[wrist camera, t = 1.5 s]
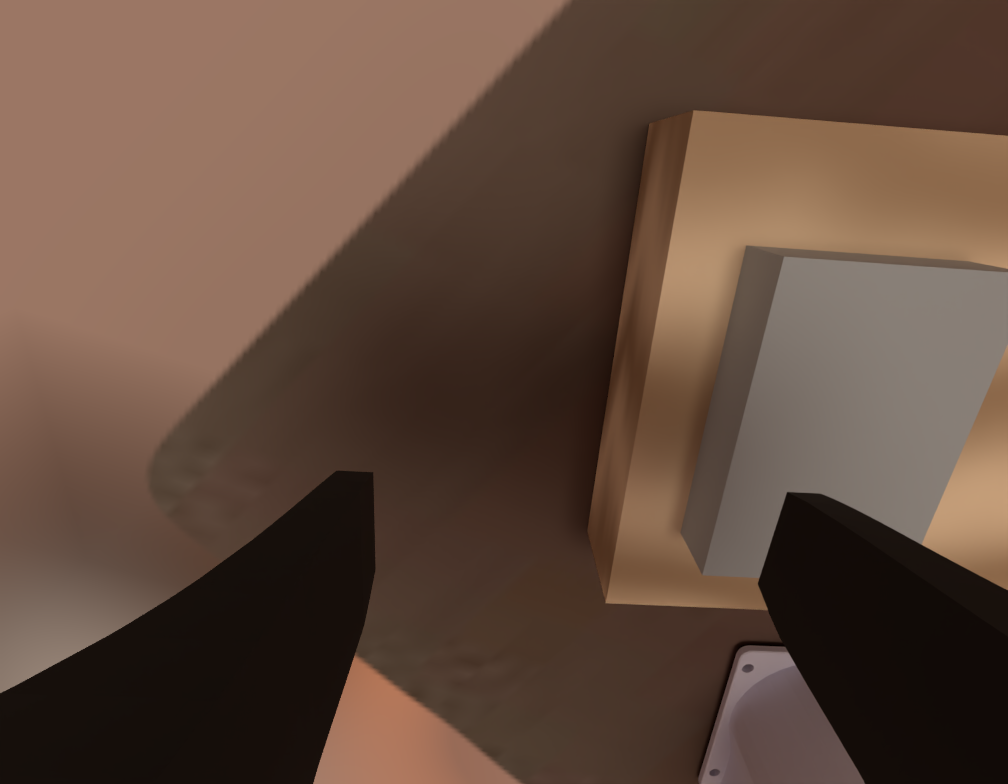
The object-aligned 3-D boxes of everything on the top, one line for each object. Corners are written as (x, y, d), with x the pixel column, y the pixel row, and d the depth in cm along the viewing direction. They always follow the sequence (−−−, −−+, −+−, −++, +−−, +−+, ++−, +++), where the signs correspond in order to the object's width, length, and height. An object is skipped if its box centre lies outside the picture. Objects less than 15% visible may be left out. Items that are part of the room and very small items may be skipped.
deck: (918, 547, 23) (1000, 619, 19) (587, 531, 22) (605, 602, 19) (1085, 158, 17) (1246, 155, 14) (649, 123, 17) (693, 110, 13)
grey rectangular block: (861, 541, 18) (904, 584, 16) (680, 532, 18) (702, 575, 16) (968, 261, 14) (1037, 274, 13) (746, 245, 14) (783, 256, 12)
